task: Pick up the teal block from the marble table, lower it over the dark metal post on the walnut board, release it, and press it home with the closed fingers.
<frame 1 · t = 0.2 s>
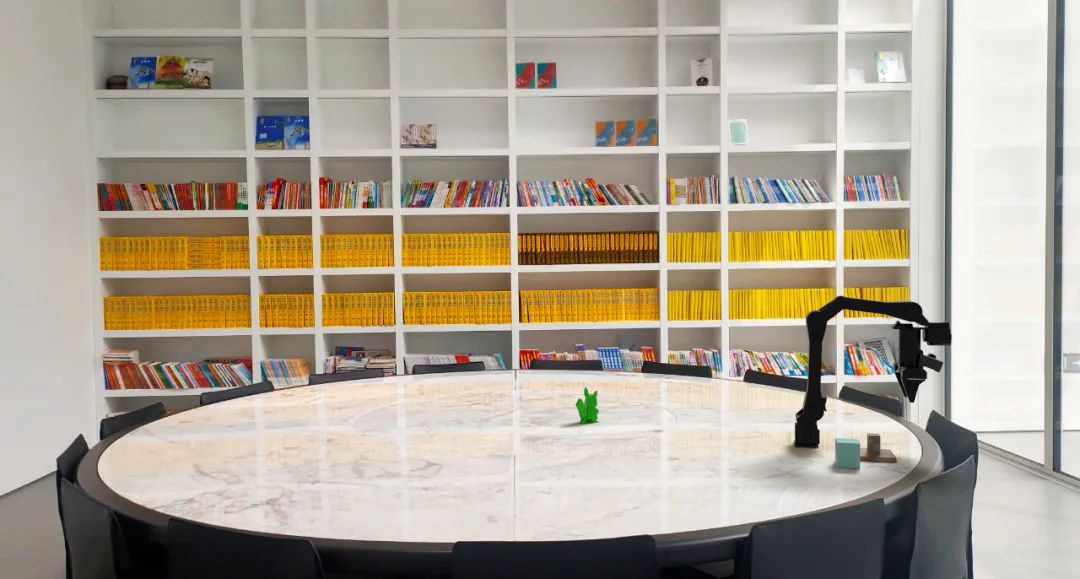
hand: (909, 399, 220), 14 cm above the table, fingers open, 9 cm apart
post board: (873, 456, 214), on the table
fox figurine: (587, 423, 264), on the table
teal block: (847, 465, 205), on the table
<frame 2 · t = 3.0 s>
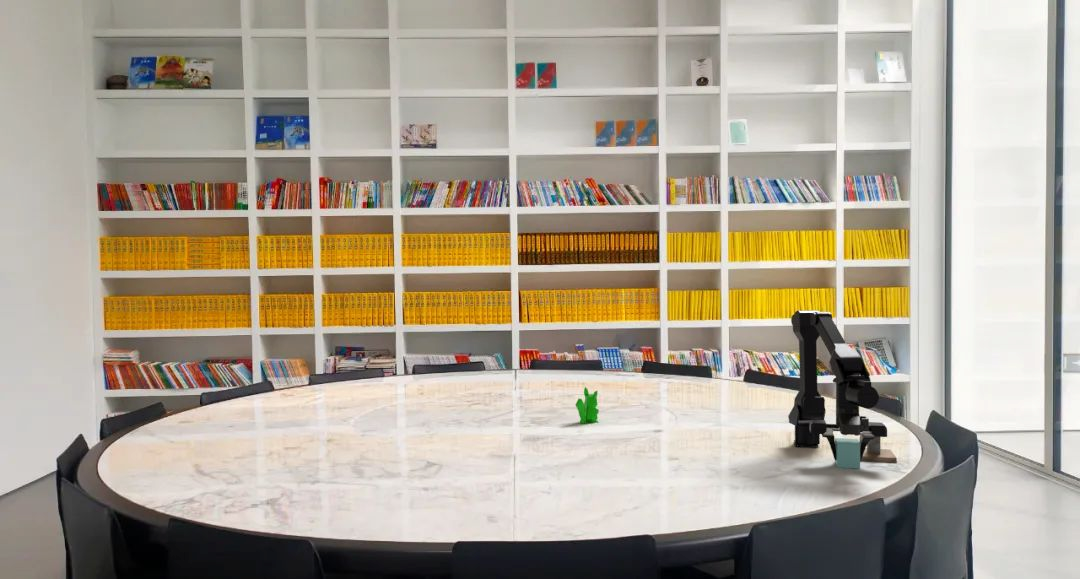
hand: (847, 460, 205), 1 cm above the table, fingers closed on teal block, 6 cm apart
teal block: (847, 465, 205), on the table, touching gripper
everything else where it was.
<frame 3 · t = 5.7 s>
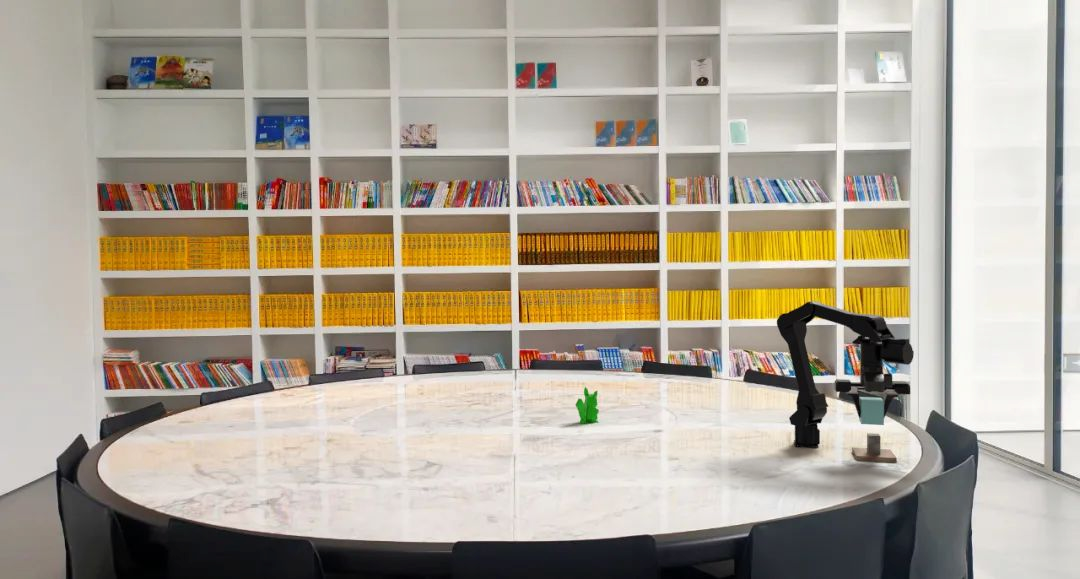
hand: (871, 418, 212), 11 cm above the table, fingers closed on teal block, 6 cm apart
teal block: (871, 422, 212), point 10 cm above the table, touching gripper
everything else where it was.
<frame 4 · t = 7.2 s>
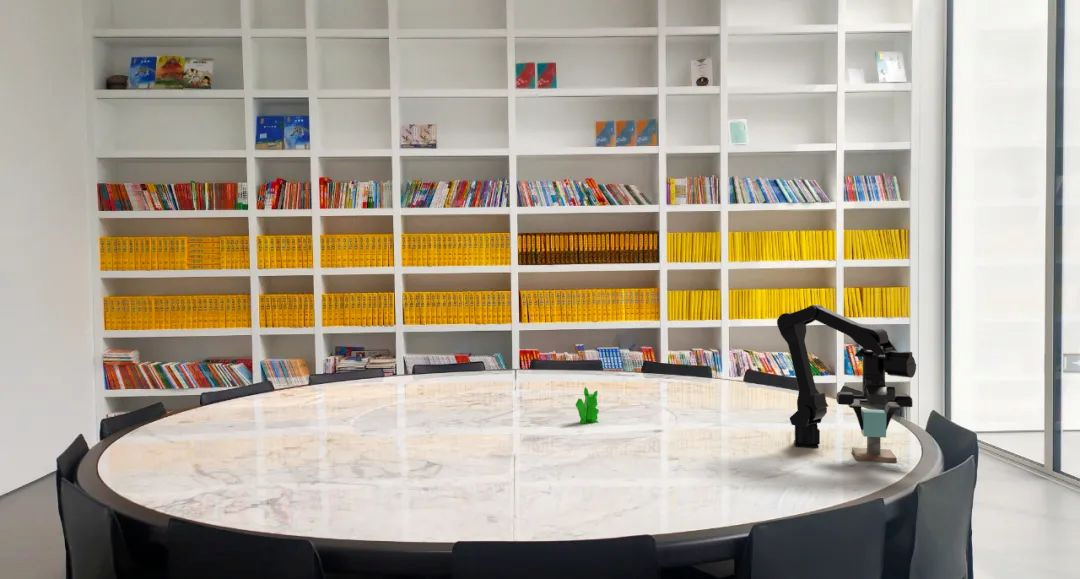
hand: (873, 430, 213), 7 cm above the table, fingers closed on teal block, 6 cm apart
teal block: (873, 434, 213), point 6 cm above the table, touching gripper
everything else where it was.
when the fingers open (3 cm above the table, at t = 8.5 s): teal block drops 1 cm, resting on post board.
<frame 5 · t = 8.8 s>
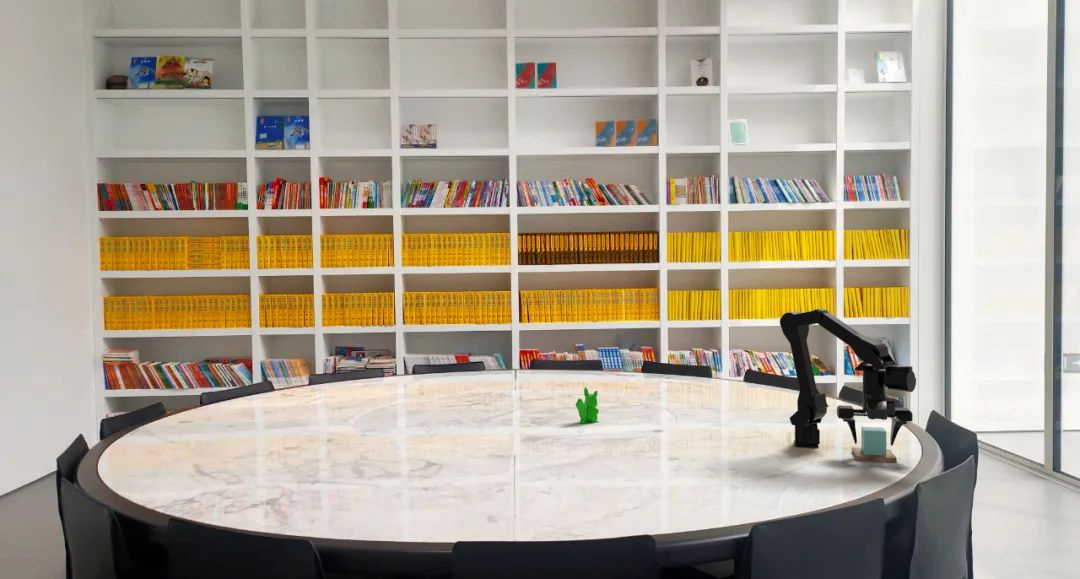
hand: (873, 444, 213), 3 cm above the table, fingers open, 9 cm apart
teal block: (873, 452, 213), point 1 cm above the table, touching post board
everything else where it was.
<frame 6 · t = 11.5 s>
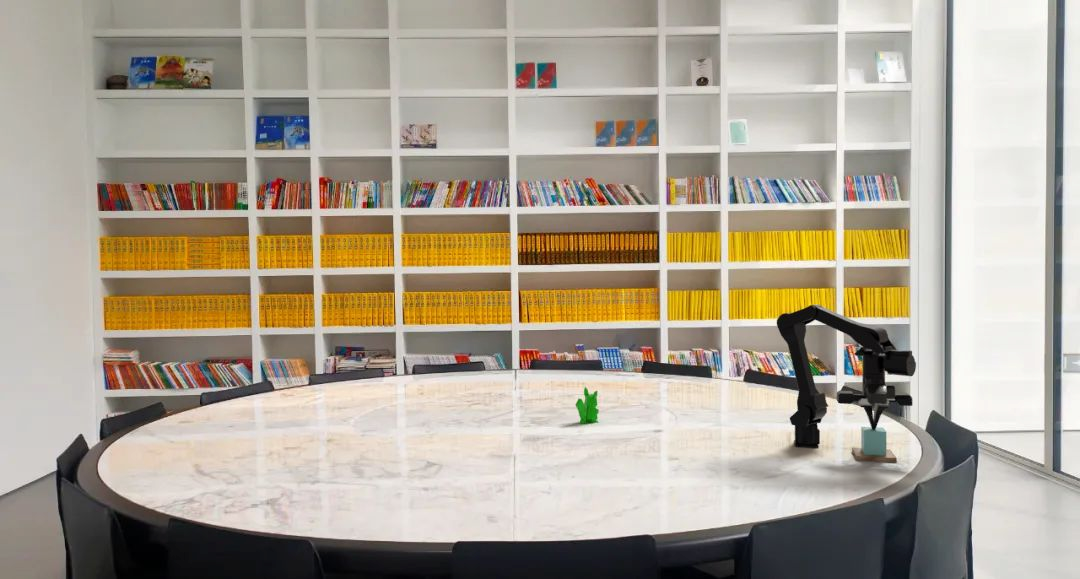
hand: (873, 429, 213), 8 cm above the table, fingers closed, pressing on teal block
teal block: (873, 452, 213), point 1 cm above the table, touching gripper, post board
everything else where it was.
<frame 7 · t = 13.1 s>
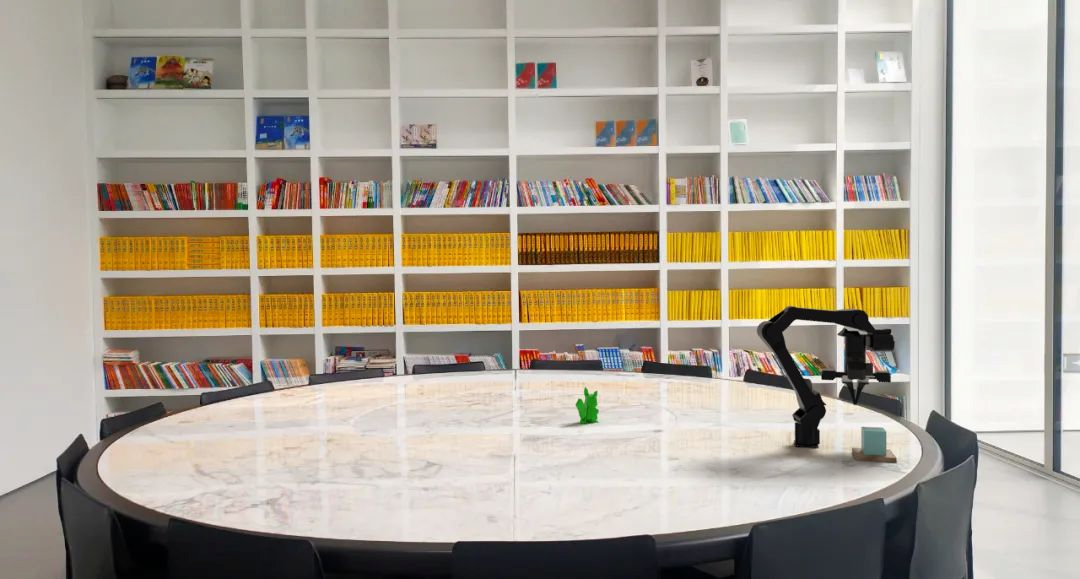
hand: (855, 404, 227), 12 cm above the table, fingers closed
teal block: (873, 452, 213), point 1 cm above the table, touching post board
everything else where it was.
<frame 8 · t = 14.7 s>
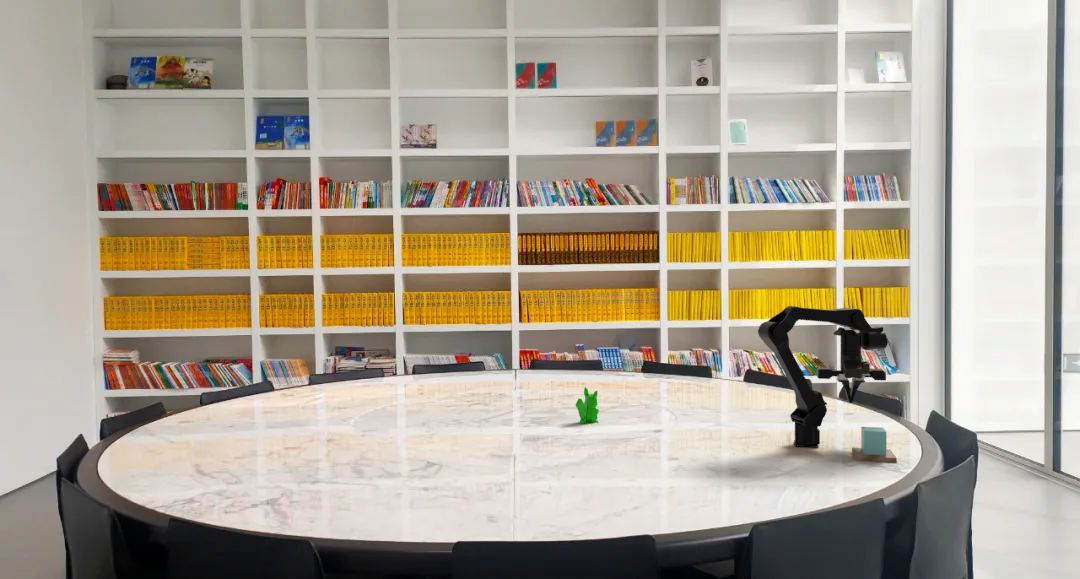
hand: (850, 402, 231), 12 cm above the table, fingers closed
nothing on the table moved.
at the end: teal block 0.0 cm from the post board (horizontally); teal block point 1.2 cm above the table; the gripper is holding nothing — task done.
